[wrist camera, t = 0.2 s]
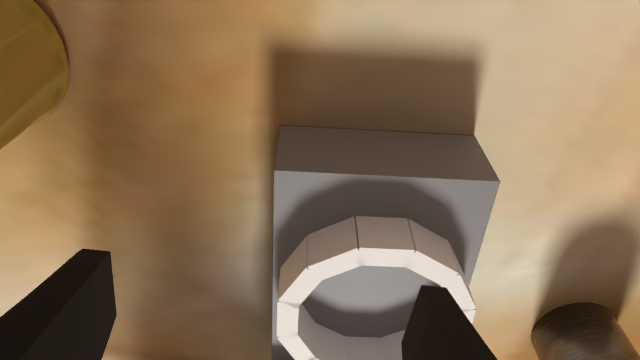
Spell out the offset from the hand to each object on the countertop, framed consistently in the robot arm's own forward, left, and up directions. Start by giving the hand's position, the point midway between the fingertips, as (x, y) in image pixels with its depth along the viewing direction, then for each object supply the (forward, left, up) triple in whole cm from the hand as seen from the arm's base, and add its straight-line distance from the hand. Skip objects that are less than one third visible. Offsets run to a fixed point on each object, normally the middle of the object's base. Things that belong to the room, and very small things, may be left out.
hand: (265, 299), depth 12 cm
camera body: (-7, -4, -10) cm, 13 cm away
